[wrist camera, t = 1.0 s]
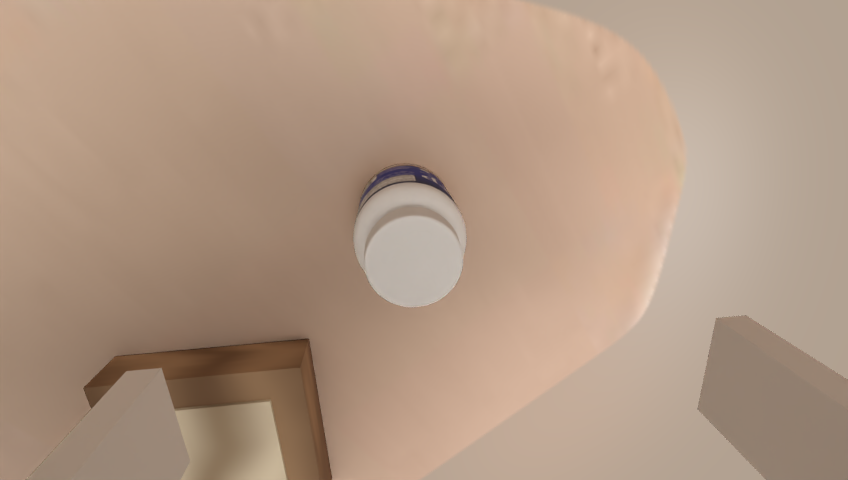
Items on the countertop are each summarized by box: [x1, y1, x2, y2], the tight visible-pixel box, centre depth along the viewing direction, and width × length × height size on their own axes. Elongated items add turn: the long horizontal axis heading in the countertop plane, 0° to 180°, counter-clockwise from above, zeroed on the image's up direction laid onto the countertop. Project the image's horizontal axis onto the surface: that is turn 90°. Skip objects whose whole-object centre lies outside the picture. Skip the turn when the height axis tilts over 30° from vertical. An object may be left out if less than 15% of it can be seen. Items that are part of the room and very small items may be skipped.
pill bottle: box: [353, 164, 467, 307], centre depth 21 cm, size 5×5×9 cm
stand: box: [83, 339, 332, 480], centre depth 28 cm, size 12×12×3 cm
